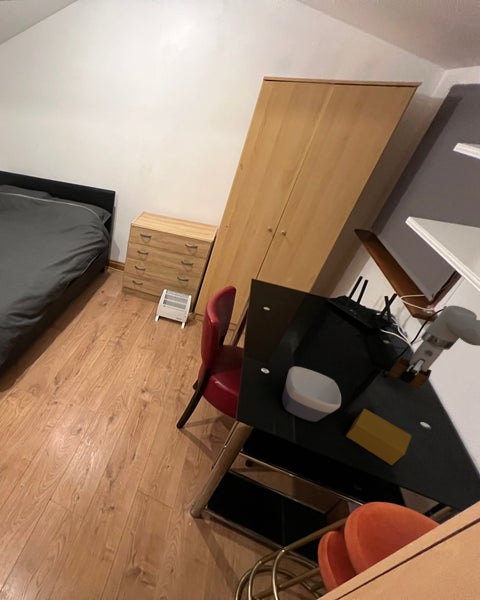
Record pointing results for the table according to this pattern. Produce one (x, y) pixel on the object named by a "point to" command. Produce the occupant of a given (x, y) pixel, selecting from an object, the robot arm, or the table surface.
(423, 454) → the table surface
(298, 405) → the bowl
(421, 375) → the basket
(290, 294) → the table surface
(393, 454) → the box
